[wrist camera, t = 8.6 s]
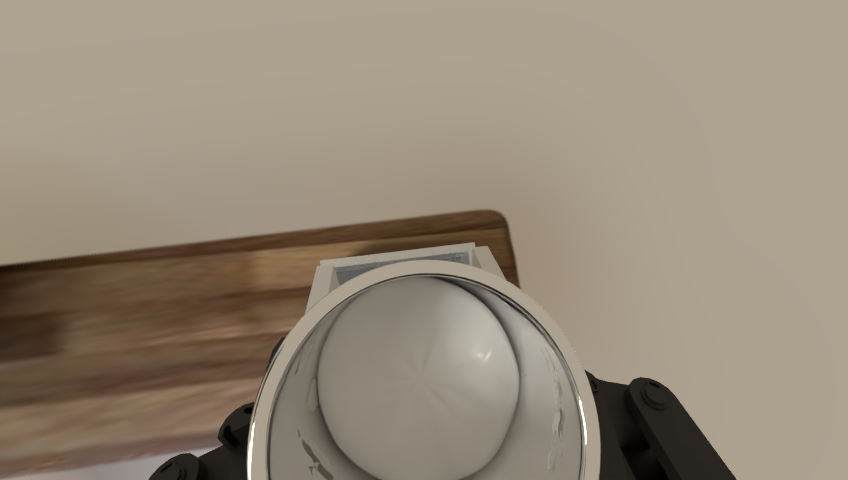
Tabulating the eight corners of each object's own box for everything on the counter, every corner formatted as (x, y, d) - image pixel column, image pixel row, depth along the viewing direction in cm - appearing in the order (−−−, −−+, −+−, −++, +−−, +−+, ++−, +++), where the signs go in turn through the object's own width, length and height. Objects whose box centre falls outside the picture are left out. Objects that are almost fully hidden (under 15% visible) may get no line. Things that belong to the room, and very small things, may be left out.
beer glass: (426, 415, 19) (491, 784, 5) (339, 352, 20) (142, 505, 5) (483, 322, 21) (672, 377, 6) (400, 265, 21) (385, 185, 6)
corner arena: (340, 381, 31) (329, 396, 26) (332, 266, 33) (320, 260, 28) (482, 359, 32) (495, 370, 27) (465, 250, 34) (474, 242, 30)
